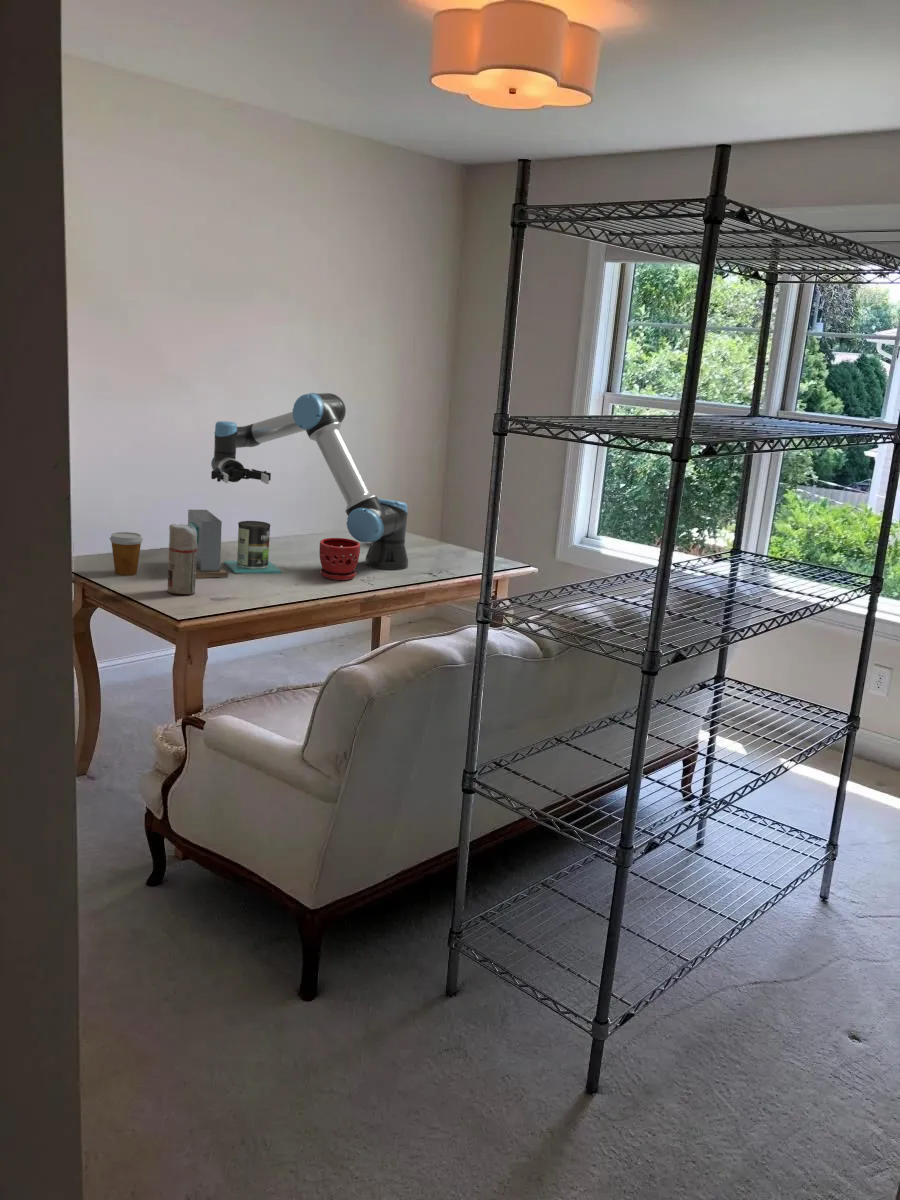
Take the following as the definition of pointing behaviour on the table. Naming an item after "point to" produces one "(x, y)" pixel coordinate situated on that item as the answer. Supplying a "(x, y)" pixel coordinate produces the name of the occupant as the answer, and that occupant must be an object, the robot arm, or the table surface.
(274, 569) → the pad
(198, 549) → the mounted unit
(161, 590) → the table surface
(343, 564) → the plant pot
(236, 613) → the table surface
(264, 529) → the coffee can
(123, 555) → the disposable coffee cup
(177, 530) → the spray can
